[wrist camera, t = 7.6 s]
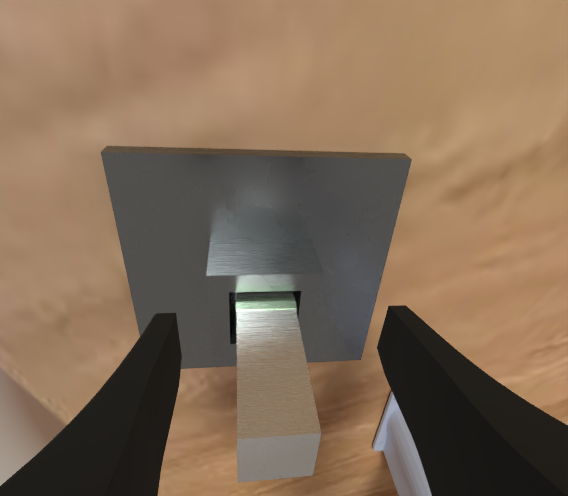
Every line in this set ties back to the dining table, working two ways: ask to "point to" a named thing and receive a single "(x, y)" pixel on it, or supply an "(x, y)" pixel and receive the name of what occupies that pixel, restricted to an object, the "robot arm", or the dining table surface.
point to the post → (273, 390)
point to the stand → (255, 239)
